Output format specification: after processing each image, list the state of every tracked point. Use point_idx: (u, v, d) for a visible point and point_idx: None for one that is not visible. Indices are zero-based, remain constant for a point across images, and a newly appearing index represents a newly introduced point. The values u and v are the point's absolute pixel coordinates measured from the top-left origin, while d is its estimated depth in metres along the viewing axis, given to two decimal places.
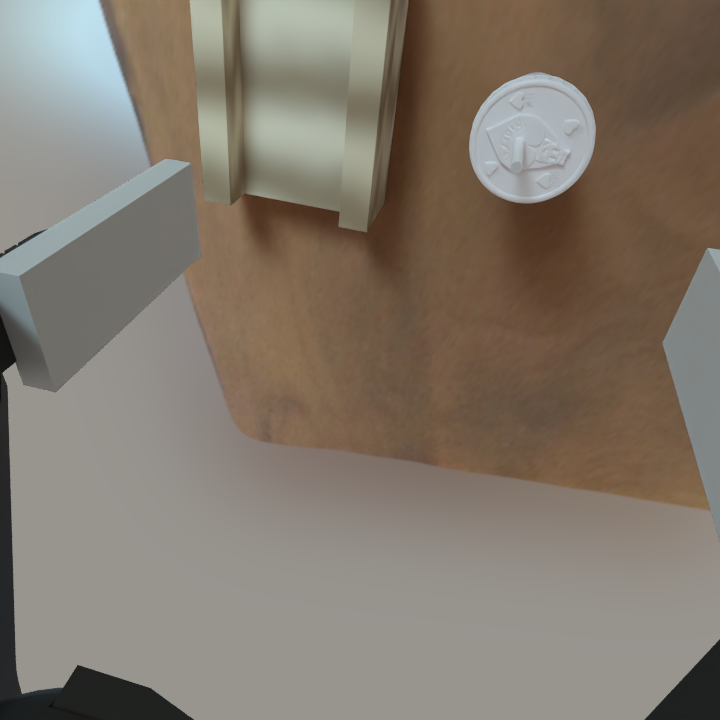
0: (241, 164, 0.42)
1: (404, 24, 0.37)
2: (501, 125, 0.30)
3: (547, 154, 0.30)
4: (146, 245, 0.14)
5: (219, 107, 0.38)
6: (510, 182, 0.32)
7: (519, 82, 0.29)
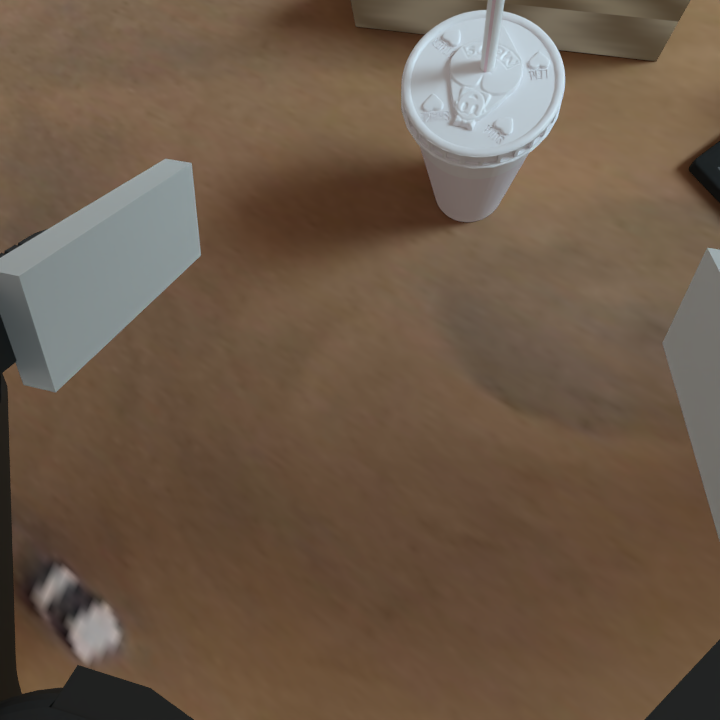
0: None
1: (563, 44, 0.32)
2: (509, 42, 0.23)
3: (470, 99, 0.23)
4: (146, 245, 0.14)
5: None
6: (431, 63, 0.23)
7: (561, 61, 0.23)
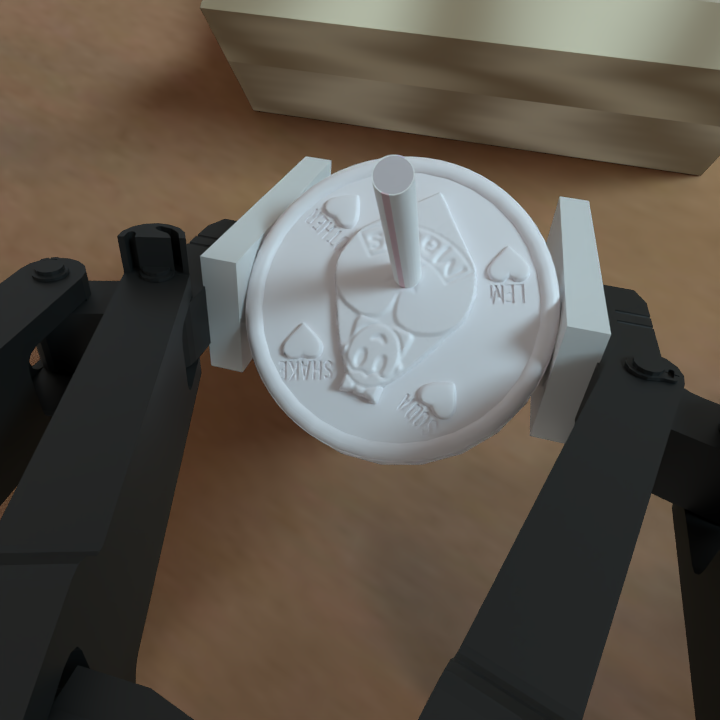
0: None
1: (559, 147, 0.21)
2: (451, 228, 0.12)
3: (373, 344, 0.11)
4: None
5: None
6: (303, 260, 0.12)
7: (552, 268, 0.11)
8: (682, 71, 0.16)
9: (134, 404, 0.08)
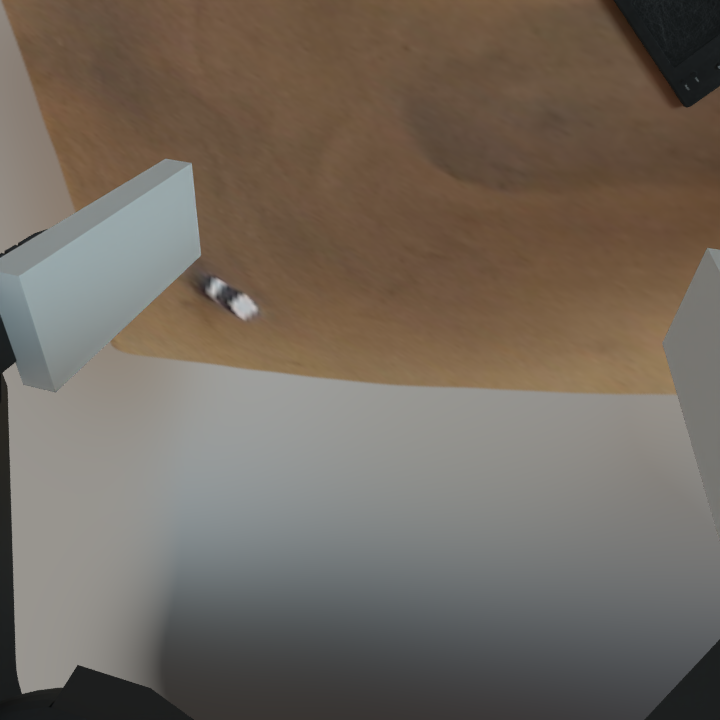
0: None
1: None
2: None
3: None
4: (146, 245, 0.14)
5: None
6: None
7: None
8: None
9: None
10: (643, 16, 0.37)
